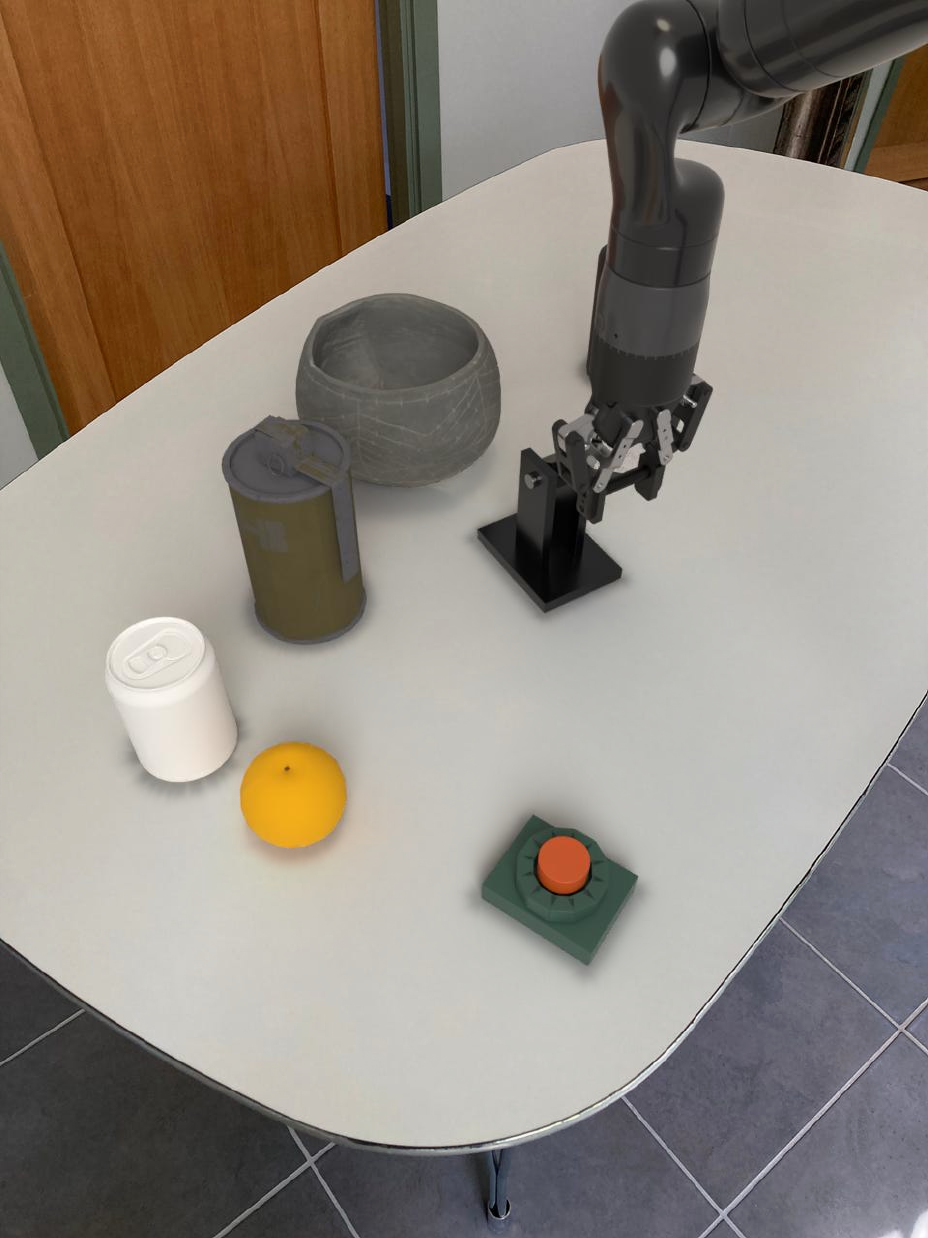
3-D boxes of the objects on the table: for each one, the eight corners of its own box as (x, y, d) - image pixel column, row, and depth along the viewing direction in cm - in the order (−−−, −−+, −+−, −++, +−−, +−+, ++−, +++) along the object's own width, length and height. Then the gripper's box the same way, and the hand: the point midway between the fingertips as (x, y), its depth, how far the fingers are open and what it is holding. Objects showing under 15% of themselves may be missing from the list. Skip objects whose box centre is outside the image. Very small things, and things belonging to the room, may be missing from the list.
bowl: (535, 482, 102) (544, 360, 91) (359, 551, 95) (346, 428, 84) (437, 384, 114) (436, 265, 103) (275, 438, 107) (254, 317, 96)
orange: (353, 773, 78) (345, 719, 72) (347, 862, 72) (338, 810, 67) (254, 775, 77) (238, 720, 72) (241, 864, 72) (223, 812, 67)
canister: (231, 613, 89) (186, 440, 74) (305, 549, 95) (277, 377, 80) (320, 665, 85) (291, 493, 70) (392, 595, 91) (379, 422, 76)
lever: (653, 485, 78) (648, 457, 77) (604, 506, 77) (598, 477, 76) (573, 472, 89) (567, 447, 88) (528, 490, 87) (522, 465, 86)
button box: (634, 890, 71) (642, 864, 68) (588, 966, 67) (594, 942, 64) (531, 828, 74) (534, 801, 71) (481, 898, 70) (482, 872, 67)
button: (596, 865, 68) (599, 853, 67) (571, 904, 66) (573, 892, 65) (553, 839, 70) (555, 827, 68) (527, 877, 68) (528, 865, 66)
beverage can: (258, 744, 79) (233, 652, 70) (176, 805, 76) (138, 715, 67) (201, 690, 83) (171, 595, 74) (120, 745, 79) (77, 652, 70)
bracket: (621, 578, 93) (640, 475, 83) (544, 613, 89) (554, 510, 80) (550, 507, 99) (560, 404, 90) (477, 538, 96) (479, 434, 87)
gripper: (597, 379, 62) (573, 564, 75) (762, 319, 67) (714, 502, 80) (533, 325, 67) (521, 509, 79) (692, 273, 72) (657, 453, 84)
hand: (618, 505), depth 79 cm, fingers closed on lever, 5 cm apart
